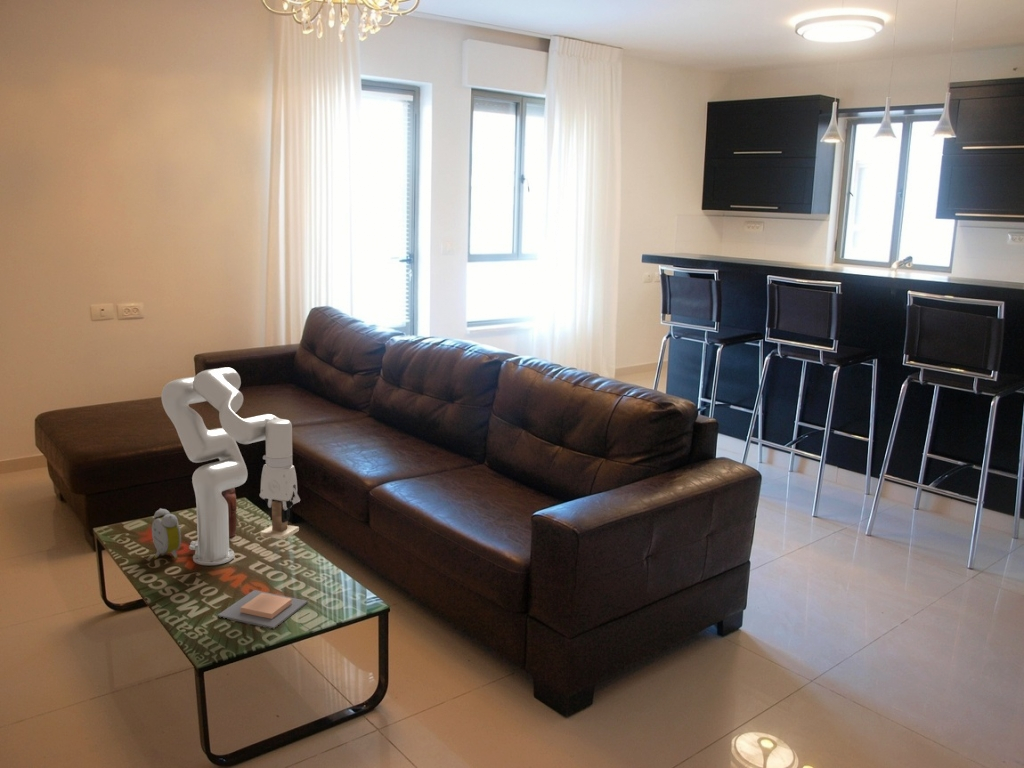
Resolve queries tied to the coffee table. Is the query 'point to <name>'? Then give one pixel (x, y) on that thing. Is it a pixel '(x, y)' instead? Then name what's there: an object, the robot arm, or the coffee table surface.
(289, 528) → the square post stand
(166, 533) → the alarm clock
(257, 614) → the tile
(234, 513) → the wooden figurine
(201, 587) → the coffee table surface
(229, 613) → the mat
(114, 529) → the coffee table surface
